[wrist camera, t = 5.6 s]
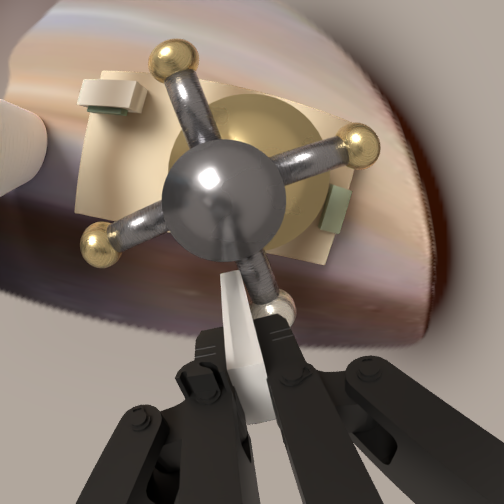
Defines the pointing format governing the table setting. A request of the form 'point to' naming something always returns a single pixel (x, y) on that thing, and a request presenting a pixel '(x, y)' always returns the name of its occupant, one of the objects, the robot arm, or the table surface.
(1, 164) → the cup
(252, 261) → the capstan
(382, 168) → the table surface
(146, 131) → the stand
